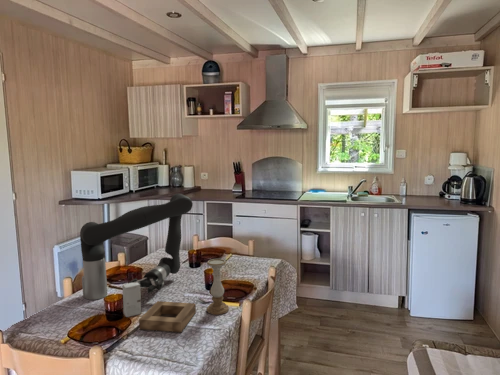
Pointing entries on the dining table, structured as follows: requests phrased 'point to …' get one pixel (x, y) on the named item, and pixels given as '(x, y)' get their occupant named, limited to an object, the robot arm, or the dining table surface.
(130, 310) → the skincare box
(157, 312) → the walnut holder
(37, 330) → the dining table surface
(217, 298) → the candle holder
